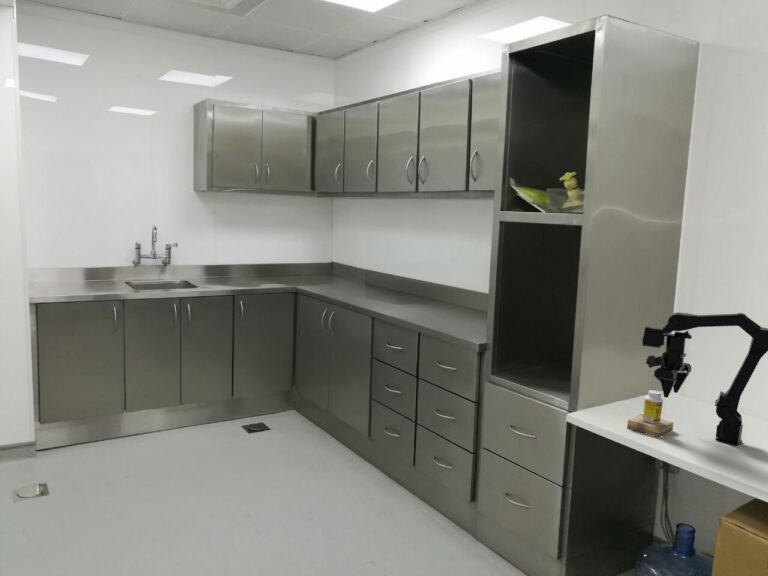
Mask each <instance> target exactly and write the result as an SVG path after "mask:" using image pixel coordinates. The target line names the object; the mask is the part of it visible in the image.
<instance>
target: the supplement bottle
mask: <svg viewBox="0 0 768 576" xmlns="http://www.w3.org/2000/svg"><path fill="white" fill-rule="evenodd" d="M663 401H664V400H663V398H662V392H661V391H659V390H655V389H654V390H653V389H652V390H651V389H650V390H648V393H647V395H645V397H644V405H643V412H642V414H643V420H644V421H646V422H649V423H659V422H660V419H661V416H662V410H663V408H662V407H663Z"/></svg>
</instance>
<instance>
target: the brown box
mask: <svg viewBox="0 0 768 576" xmlns="http://www.w3.org/2000/svg"><path fill="white" fill-rule="evenodd" d="M626 428H627V429H628V430H631V429H632V430H631V431H634V430H636V431H635V432H638V431H639V433H641V432H643V433H642V434H645V433H647V434H646V435H648V434H650V435H649V436H652V435H654V436H653V437H655V436H657V437H656V438H659V437H660V438H662V437H664V436H666V435H668V434H670V433H672V432H674V431H673V430H674V422H673V421H671V420H670V421H669V420H666V419H663V418H660V422H659V423H649V422H646V421H644V420H643V413H640V414H637V415H636V416H634V417H631V418H629V419H628V420H627V427H626ZM671 431H672V432H671ZM669 432H670V433H669ZM667 433H668V434H667ZM665 434H666V435H665ZM663 435H664V436H663ZM661 436H662V437H661Z"/></svg>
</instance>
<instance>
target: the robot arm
mask: <svg viewBox="0 0 768 576" xmlns="http://www.w3.org/2000/svg"><path fill="white" fill-rule="evenodd" d="M708 327H710V328H711V327H713V328H714V327H739V328H740V329H742V330H743V331H744V332H745V333H746V334H747V335H749V336H750V337H751V341H750V344H749V348H748V352H747V353H746V355H745V358H744V360H743V362H742V363H741V366H740V367H739V369H738V371H737V373H736V375H735V377H734V378H733V381H732V382H731V384H730V386H729V388H728V389H727V391H725V392H724V391H721V390H720V392H719V395H718V398H717V399H716V400H715V401H714V403H715V404H714V407H715V413H716V415H717V416H718V418H719V419H721V420H720V421H719V422H718V424H717V425H716V429H715V430H716V432H715V441H717V442H721V443H723V444H728V445H730V446H731V445H732V446H735V447H737V446H739V445H740V444H741V443H743V440H742V435H743V434H742V433H743V429H744V428H743V426H744V424H743V418H742V415H741V414H740V412H739V411H738V407H739V404H740V400H741V397H742V395H743V393H744V391H745V388H746V386H747V385H748V383H749V381H750V379H751V377H752V376H753V373H754V372H755V369H756V368H757V365H758V364H759V362H760V361H761V359H762V357H764V356H765V355H766V354H767V353H768V327H762V326H761V325H759V324H758V323H756V322H755V321H753V320H752V319H751V318H750V317H749V316H747V314H746V313H743V312H738V313H723V314H693V313H687V312H679V311H678V312H674V313H672V314H671V315H670V316H669V318H668V319H667V323H666V324H665V325H664V326H663V327H662V328H656V327H651V326H645V327H644V332H643V336H642V345H641V346H643V347H647V348H657V349H661V347H662V346H665V351H664V352H662V353H661V355H656V356H655V355H654V354H652V355H648V356H647V358H646V359H645V360H646V361H645V364H647V366H648V368H649V369H651V368H653V367H658V368H656V369H655V370H654V371H653V373H654V374H653V377H655V378H656V380H658V381H659V382H660V385H661V388H662V389H661V390H662V393H663V397H664V398H669V396H670V394H671V392H672V390H673V392H674V393H675V394H677V393H678V392H679V391H680V389H681V387H682V385H683V384H684V382H685V381H686V380H687V378H688V376H689V375H690V373H691V372H692V365H691V364H690V363H687V362H684V361H685V360H684V359H685V357H686V356H687V353H685V346H686V339H688V340H691V339H692V337H693V336H692V334H690V333H689V331H688V330H692V329H695V328H708ZM682 331H683V332H682ZM672 332H674V333H672ZM665 340H666V341H665ZM665 343H666V344H665ZM659 366H660V367H659Z"/></svg>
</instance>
